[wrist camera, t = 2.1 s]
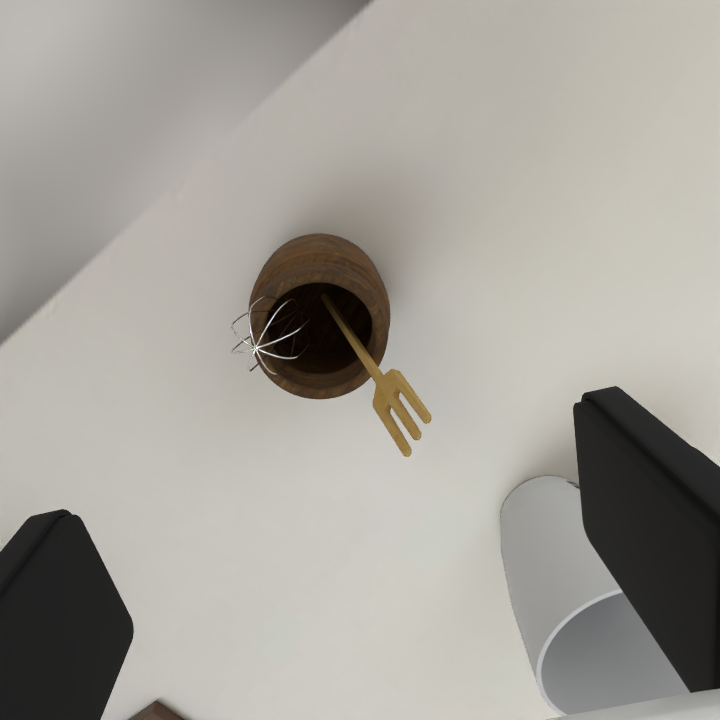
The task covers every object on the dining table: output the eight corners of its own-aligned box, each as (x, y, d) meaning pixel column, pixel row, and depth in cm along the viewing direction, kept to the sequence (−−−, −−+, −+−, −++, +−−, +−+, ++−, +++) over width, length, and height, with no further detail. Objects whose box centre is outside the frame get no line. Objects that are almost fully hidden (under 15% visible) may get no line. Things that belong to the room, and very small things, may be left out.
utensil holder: (288, 207, 25) (260, 252, 14) (408, 267, 26) (471, 353, 15) (238, 319, 27) (178, 440, 15) (353, 370, 28) (374, 515, 17)
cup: (612, 551, 33) (724, 706, 24) (483, 579, 33) (545, 743, 24) (606, 438, 30) (732, 565, 21) (465, 469, 31) (528, 608, 21)
